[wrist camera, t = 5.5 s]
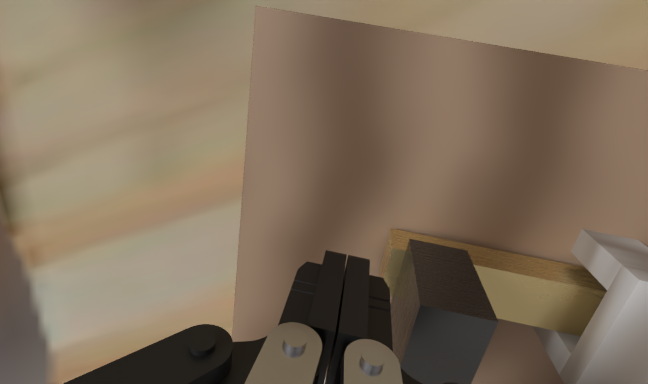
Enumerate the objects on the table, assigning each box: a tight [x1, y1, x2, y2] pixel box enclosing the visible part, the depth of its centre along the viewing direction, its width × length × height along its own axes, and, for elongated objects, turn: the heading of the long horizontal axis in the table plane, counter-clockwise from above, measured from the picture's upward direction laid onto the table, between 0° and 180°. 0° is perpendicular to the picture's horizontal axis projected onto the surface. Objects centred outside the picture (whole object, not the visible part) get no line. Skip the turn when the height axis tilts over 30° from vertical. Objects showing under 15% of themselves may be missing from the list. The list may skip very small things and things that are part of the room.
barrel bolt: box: [380, 228, 607, 384], centre depth 12 cm, size 16×3×5 cm, turn 81°
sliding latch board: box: [232, 6, 648, 384], centre depth 14 cm, size 26×16×5 cm, turn 81°
